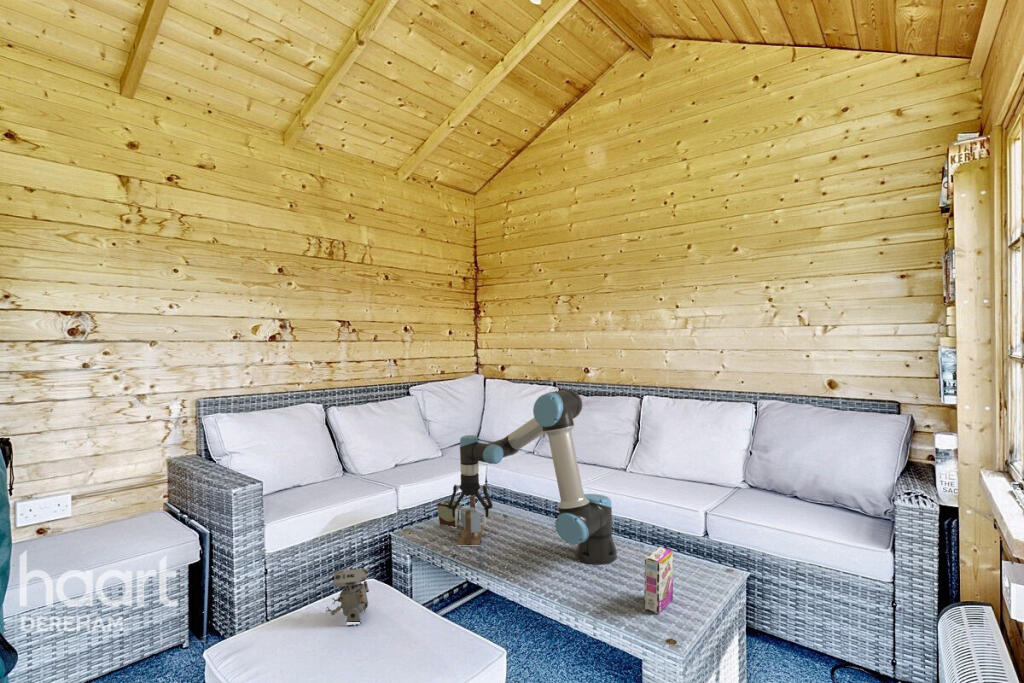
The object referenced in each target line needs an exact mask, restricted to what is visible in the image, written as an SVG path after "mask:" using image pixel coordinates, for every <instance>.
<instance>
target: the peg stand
mask: <svg viewBox="0 0 1024 683" xmlns="http://www.w3.org/2000/svg"><path fill="white" fill-rule="evenodd" d="M469 507H474V509H475V510H476V496H475V495H474V496H471V495H469ZM465 522H466V530H465V528H464V526H463V525H462V528H461V530H460V533H459V534H460V535H459V537H458V541H457V544H456V546H457V545H480V546H481V543H480V541H481V542H482V538H481V536H482V537H483V533H482V532H484V528H483V527H485V526H484V524H481V532H474V533H471V510H466V512H465Z"/></svg>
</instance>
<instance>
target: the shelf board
mask: <svg viewBox="0 0 1024 683" xmlns="http://www.w3.org/2000/svg"><path fill="white" fill-rule="evenodd" d="M466 510H471V533H474V532H481V525H482V524H481V523H482V520H481V519H482V516H481V515H480V514H479V513H478V512H477V510H476V508H475V509H474V507H470V506H469V507H463V508H462V507H461V509H460V523H461V525H462V527H463V526H464V528H465V530H466V522H465V512H466Z"/></svg>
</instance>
